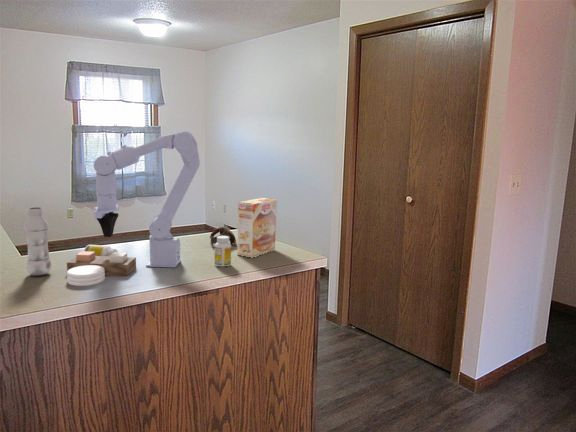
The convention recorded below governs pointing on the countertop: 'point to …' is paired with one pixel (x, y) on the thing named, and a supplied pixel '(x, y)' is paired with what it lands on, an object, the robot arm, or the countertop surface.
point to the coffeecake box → (256, 226)
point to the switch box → (108, 265)
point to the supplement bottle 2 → (222, 251)
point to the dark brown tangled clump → (223, 232)
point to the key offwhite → (118, 257)
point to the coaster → (85, 275)
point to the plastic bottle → (37, 242)
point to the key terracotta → (85, 256)
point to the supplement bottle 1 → (100, 250)
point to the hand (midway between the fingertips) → (108, 236)
